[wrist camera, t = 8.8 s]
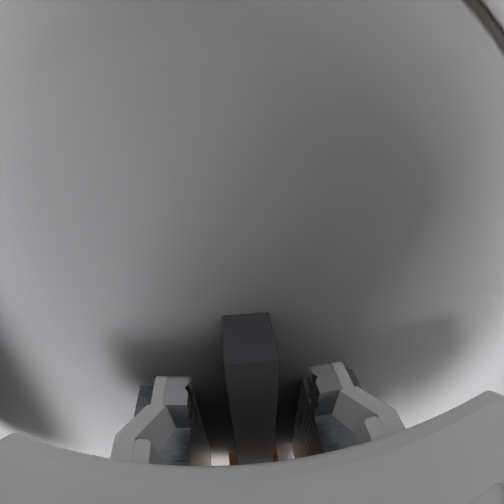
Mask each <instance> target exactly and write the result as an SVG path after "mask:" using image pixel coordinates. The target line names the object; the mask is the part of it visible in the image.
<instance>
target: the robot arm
mask: <svg viewBox="0 0 504 504" xmlns="http://www.w3.org/2000/svg"><path fill="white" fill-rule="evenodd" d="M307 373H308V376H309V377H308V378H307V379H306V392H307V396H308V398H309V399H310V400H311V405H310V406H311V409H312V412H313V415H314V417H315V416H322V415H327V414H332V415H333V416H334V417H335V418H337V419H338V420H339V421H340V422H341V423H342V424H344V425H345V426H346V427H347V428H348V429H350V430H351V431H352V432H353V433H354V434H356V435H357V437H356V438H355V440H354V442H353V444H352V445H351V447H348V448H344V449H340V450H335V451H331V452H327V453H322V454H317V455H312V456H307V457H301V458H295V459H289V460H282V461H274V462H265V463H256V464H244V465H226V466H178V465H165V463H164V462H163V460H162V459H161V457H160V456H159V454H158V452H159V451H160V450H161V448H162V447H163V446H164V444H165V443H166V442H167V440H168V439H169V438H170V436H171V435H172V434H173V432H174V431H175V430H176V428H195V413H194V409H195V408H196V399H195V391H194V388H193V387H192V380H191V377H171V376H168V377H167V376H157V377H156V379H155V383H154V388H153V393H152V399H151V404H150V405H147V406H145V407H144V408H143V409H142V410H141V411H140V412H139V413H138V414H137V415H136V416H135V417H134V418H133V419H132V420H131V421H130V422H129V423H128V424H127V425H126V426H125V427H124V428H123V429H121V430H120V431H119V432H118V433H117V434H116V435H115V439H114V443H113V448H112V453H111V458H105V457H100V456H95V455H90V454H85V453H81V452H76V451H72V450H68V449H64V448H61V447H57V446H54V445H50V444H47V443H44V442H41V441H38V440H35V439H32V438H29V437H26V436H23V435H21V434H17V433H12V434H10V435H8V436H6V437H4V438H3V439H1V440H0V504H504V396H503V395H501V394H498V393H496V392H493V391H485V392H483V393H481V394H480V395H478V396H476V397H474V398H472V399H471V400H469V401H467V402H465V403H463V404H461V405H459V406H457V407H455V408H453V409H451V410H449V411H447V412H445V413H443V414H441V415H438V416H436V417H434V418H432V419H429V420H427V421H425V422H422V423H420V424H417V425H415V426H412V427H410V428H407V429H405V427H404V425H403V423H402V421H401V419H400V417H399V415H398V413H397V411H396V410H395V409H394V408H392V407H391V406H389V405H387V404H386V403H384V402H382V401H381V400H379V399H377V398H376V397H374V396H372V395H371V394H369V393H367V392H366V391H364V390H362V389H361V388H359V387H358V386H356V387H354V385H353V383H352V381H351V379H350V377H349V375H348V372H347V370H346V368H345V366H344V364H343V362H341V361H340V362H335V363H328V364H322V365H316V366H310V367H309V368H308V372H307Z"/></svg>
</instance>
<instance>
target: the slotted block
mask: <svg viewBox="0 0 504 504" xmlns="http://www.w3.org/2000/svg"><path fill="white" fill-rule="evenodd" d="M347 372H348V375H349V377H350V379H351V381H352V383H353V385H354V387H356V386H358V387H359V388H361V387H360V385H359V383H358V381H357V379H356V377H355V374H354V372H353V370H348V371H347ZM306 379H307V378H302V384H301V390H300V396H299V402H298V408H297V414H296V419H295V425H294V430H293V436H292V441H291V444H292V448H293V453H294V457H295V458H301V457H307V456H312V455H317V454H322V453H327V452H331V451H335V450H340V449H344V448H348V447H351V445H352V444H353V442H354V440H355V438H356V437H357V435H356V434H354V433H353V432H352V431H351V430H350V429H348V428H347V427H346V426H345V425H344V424H342V423H341V422H340V421H339V420H338V419H337V418H335V417H334V416H333V415H332V414H327V415H322V416H315V417H314V415H313V412H312V409H311V406H310V405H311V400H310V399H309V398H308V396H307V392H306ZM153 388H154V387H141V386H140V390H139V395H138V399H137V404H136V409H135V414H134V417H135V416H136V415H137V414H138V413H139V412H140V411H141V410H142V409H143V408H144V407H145V406H147V405H150V404H151V399H152V393H153ZM194 413H195V428H176V430H175V431H174V432H173V434H172V435H171V436H170V438H169V439H168V440H167V442H166V443H165V444H164V446H163V447H162V448H161V450H160V451H159V452H158V454H159V456H160V457H161V459H162V460H163V462H164V463H165V465H178V466H211V448H210V445H209V442H208V439H207V436H206V433H205V429H204V426H203V423H202V419H201V416H200V413H199V409H198V406H197V402H196V408H195V409H194Z"/></svg>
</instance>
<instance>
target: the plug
mask: <svg viewBox="0 0 504 504" xmlns="http://www.w3.org/2000/svg"><path fill="white" fill-rule="evenodd" d="M222 320H223V356H224V370H225V377H226V385H227V392H228V399H229V406H230V412H231V419H232V425H233V432H234V438H235V444H236V450H237V451H232V452H229V462H230V465H244V464H256V463H265V462H274V461H278V456H277V450H276V448H274V439H275V426H276V413H277V399H278V384H279V367H280V358H279V354H278V350H277V346H276V342H275V338H274V334H273V330H272V326H271V322H270V318H269V314H268V312H266V313H254V314H240V315H226V316H222Z"/></svg>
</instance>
